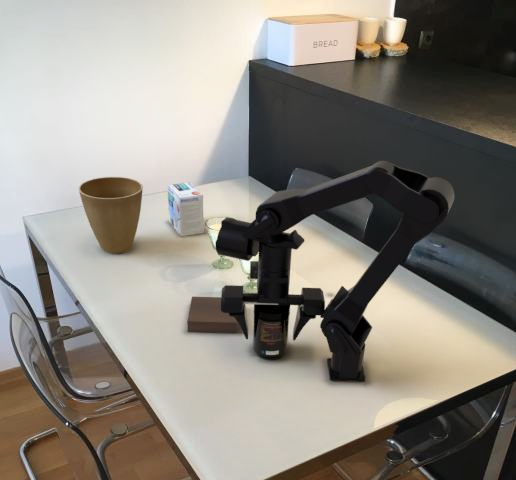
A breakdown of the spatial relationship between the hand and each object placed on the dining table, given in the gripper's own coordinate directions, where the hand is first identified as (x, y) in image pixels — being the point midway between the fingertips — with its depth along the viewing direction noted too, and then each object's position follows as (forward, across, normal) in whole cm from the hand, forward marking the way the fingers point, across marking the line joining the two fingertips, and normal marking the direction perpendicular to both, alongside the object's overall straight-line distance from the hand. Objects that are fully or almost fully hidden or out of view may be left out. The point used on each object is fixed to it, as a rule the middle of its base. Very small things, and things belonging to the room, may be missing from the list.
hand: (270, 338), depth 114 cm
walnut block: (+3, +12, -11) cm, 16 cm away
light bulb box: (+3, +22, -58) cm, 62 cm away
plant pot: (+3, +38, -44) cm, 58 cm away
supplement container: (+3, 0, 0) cm, 3 cm away
